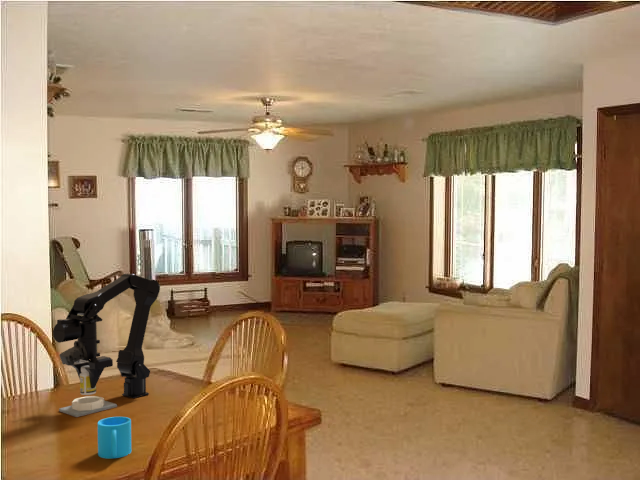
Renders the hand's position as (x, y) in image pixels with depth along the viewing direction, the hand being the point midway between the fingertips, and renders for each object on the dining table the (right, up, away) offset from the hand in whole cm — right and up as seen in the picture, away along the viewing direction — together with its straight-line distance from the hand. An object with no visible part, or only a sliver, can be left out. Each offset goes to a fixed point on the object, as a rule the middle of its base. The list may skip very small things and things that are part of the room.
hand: (88, 386), depth 214 cm
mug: (+21, -9, -41) cm, 47 cm away
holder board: (0, -7, 0) cm, 7 cm away
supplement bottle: (0, -2, 0) cm, 2 cm away
